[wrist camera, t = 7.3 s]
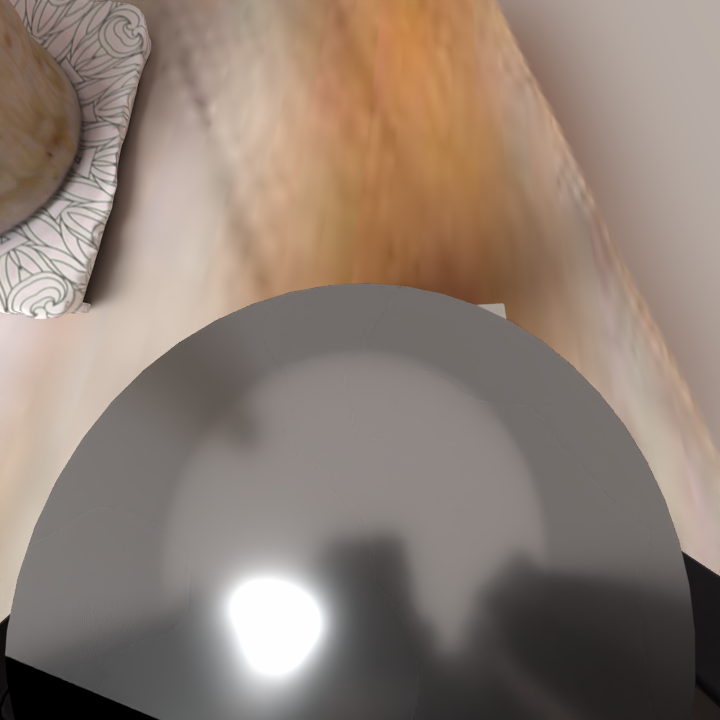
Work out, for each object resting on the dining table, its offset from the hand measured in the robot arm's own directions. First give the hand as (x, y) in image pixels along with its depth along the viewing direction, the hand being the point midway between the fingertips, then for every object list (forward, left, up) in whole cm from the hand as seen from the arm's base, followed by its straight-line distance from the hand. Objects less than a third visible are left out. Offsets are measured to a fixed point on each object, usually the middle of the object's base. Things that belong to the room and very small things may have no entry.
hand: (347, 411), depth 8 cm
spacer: (-1, 0, -7) cm, 7 cm away
